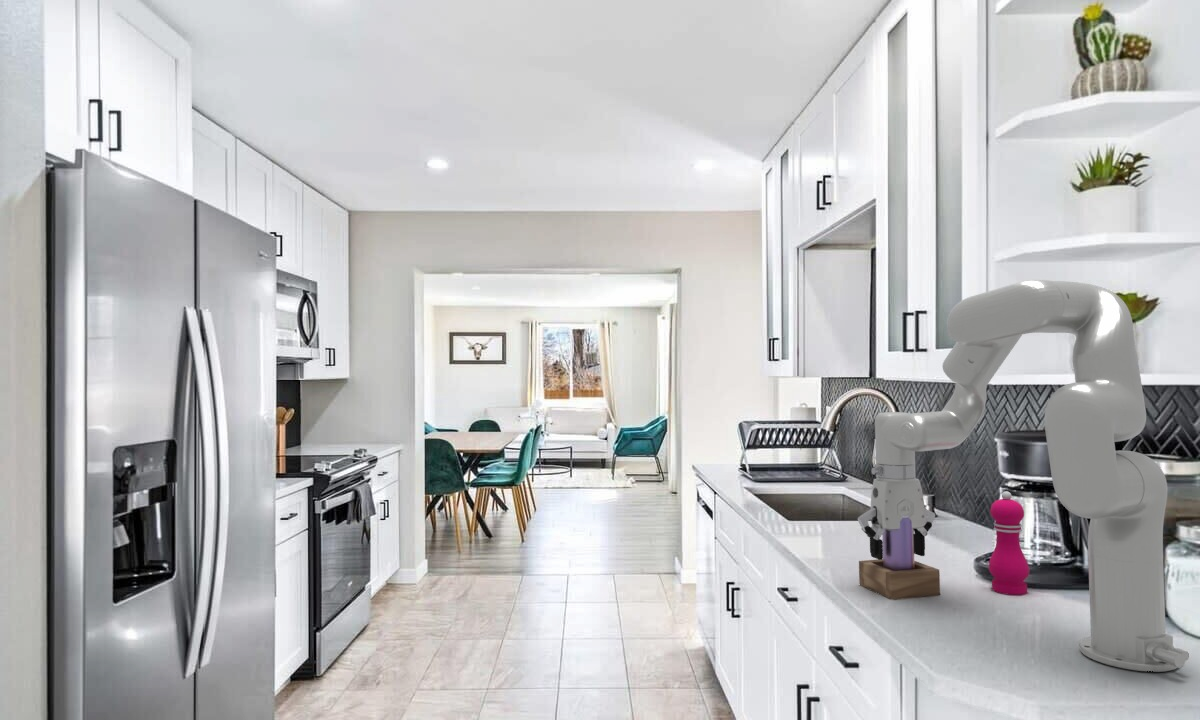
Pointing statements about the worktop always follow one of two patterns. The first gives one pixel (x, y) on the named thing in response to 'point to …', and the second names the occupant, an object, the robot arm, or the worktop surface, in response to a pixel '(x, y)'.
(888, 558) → the beverage can
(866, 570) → the holder
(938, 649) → the worktop surface
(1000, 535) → the pepper mill
